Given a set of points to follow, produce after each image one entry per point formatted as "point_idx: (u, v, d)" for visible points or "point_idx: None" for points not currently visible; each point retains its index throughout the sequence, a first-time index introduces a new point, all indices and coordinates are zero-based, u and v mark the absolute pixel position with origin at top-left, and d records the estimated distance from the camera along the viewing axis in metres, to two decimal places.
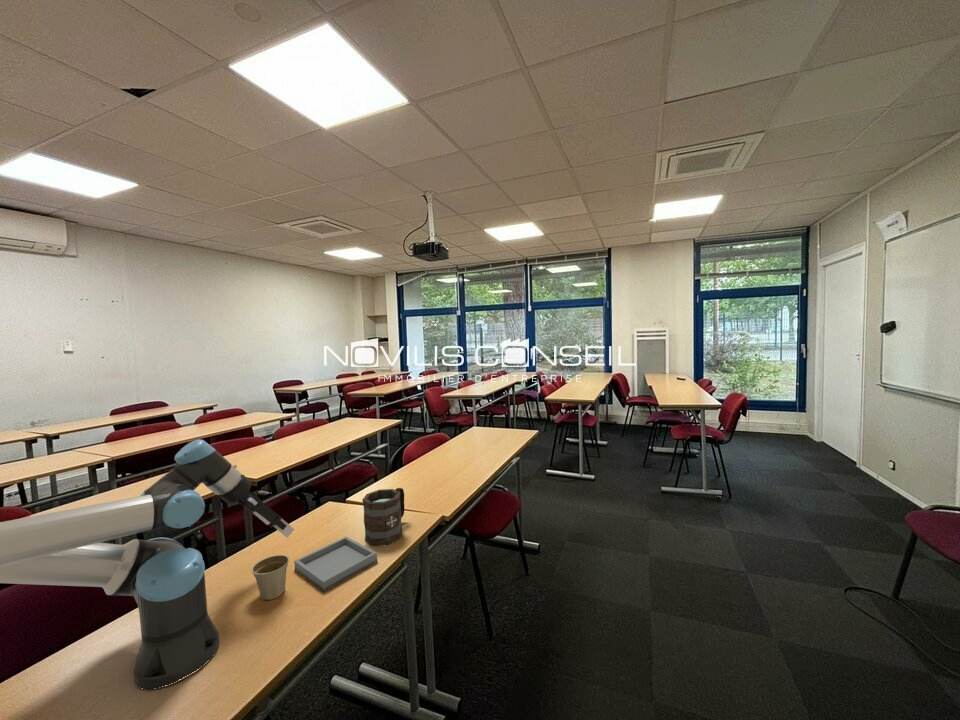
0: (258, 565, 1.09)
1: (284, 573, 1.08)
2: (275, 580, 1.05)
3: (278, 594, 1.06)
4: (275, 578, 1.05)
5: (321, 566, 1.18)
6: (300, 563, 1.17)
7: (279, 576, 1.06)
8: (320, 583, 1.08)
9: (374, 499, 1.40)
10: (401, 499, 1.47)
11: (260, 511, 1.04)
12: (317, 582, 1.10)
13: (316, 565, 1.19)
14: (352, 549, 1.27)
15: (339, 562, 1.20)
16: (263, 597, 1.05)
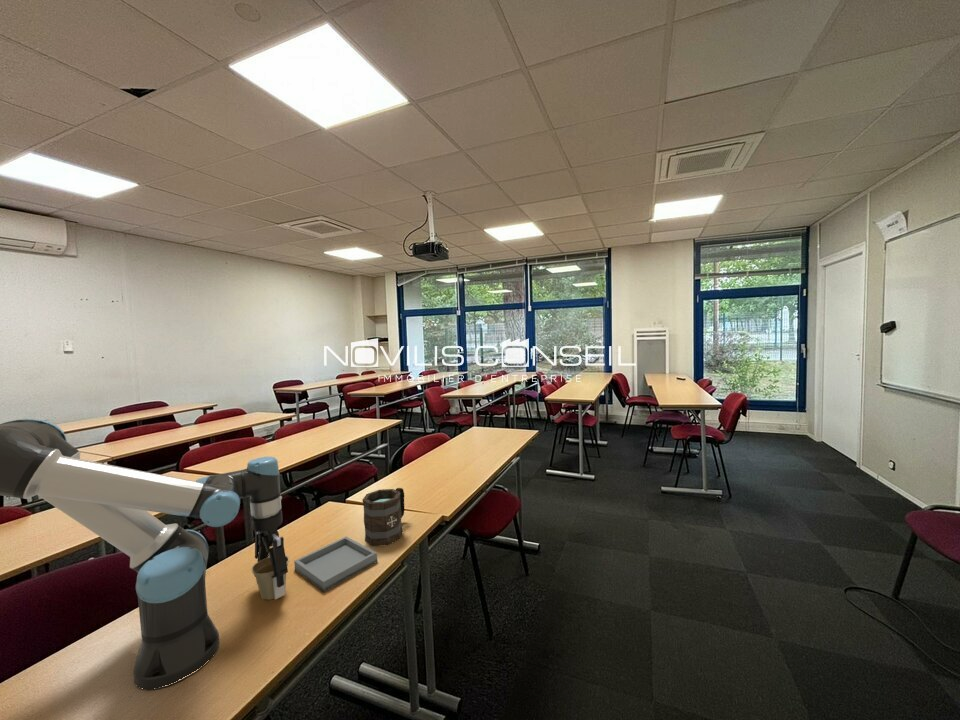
0: (258, 565, 1.09)
1: None
2: None
3: None
4: None
5: (321, 566, 1.18)
6: (300, 563, 1.17)
7: None
8: (320, 583, 1.08)
9: (374, 499, 1.40)
10: (401, 499, 1.47)
11: (277, 555, 1.02)
12: (317, 582, 1.10)
13: (316, 565, 1.19)
14: (352, 549, 1.27)
15: (339, 562, 1.20)
16: (263, 597, 1.05)
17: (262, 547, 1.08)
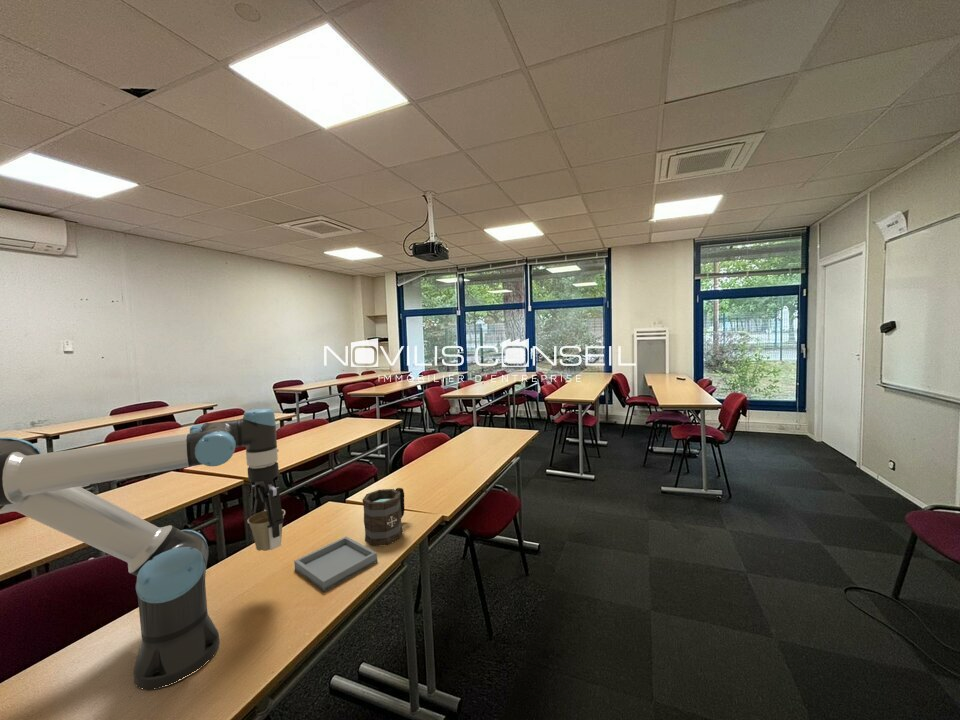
0: (254, 517, 1.08)
1: (280, 525, 1.07)
2: None
3: None
4: None
5: (321, 566, 1.18)
6: (300, 563, 1.17)
7: None
8: (320, 583, 1.08)
9: (374, 499, 1.40)
10: (401, 499, 1.47)
11: (273, 504, 1.02)
12: (317, 582, 1.10)
13: (316, 565, 1.19)
14: (352, 549, 1.27)
15: (339, 562, 1.20)
16: (259, 548, 1.04)
17: (257, 500, 1.08)
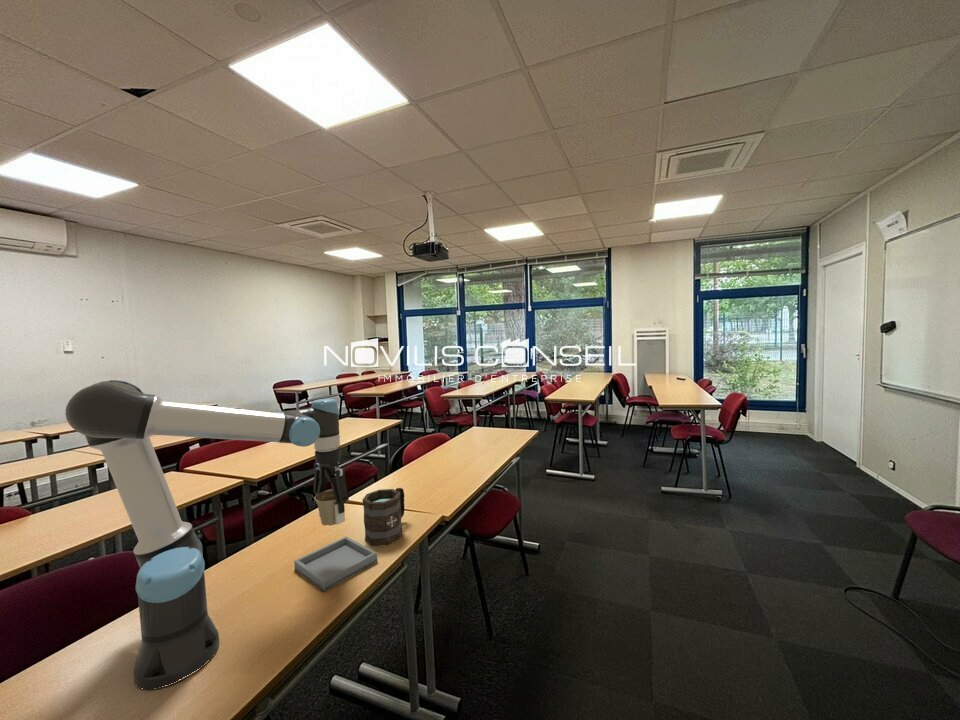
0: (318, 496, 1.20)
1: None
2: None
3: None
4: None
5: (321, 566, 1.18)
6: (300, 563, 1.17)
7: None
8: (320, 583, 1.08)
9: (374, 499, 1.40)
10: (401, 499, 1.47)
11: (340, 483, 1.14)
12: (317, 582, 1.10)
13: (316, 565, 1.19)
14: (352, 549, 1.27)
15: (339, 562, 1.20)
16: (325, 523, 1.17)
17: (322, 481, 1.20)
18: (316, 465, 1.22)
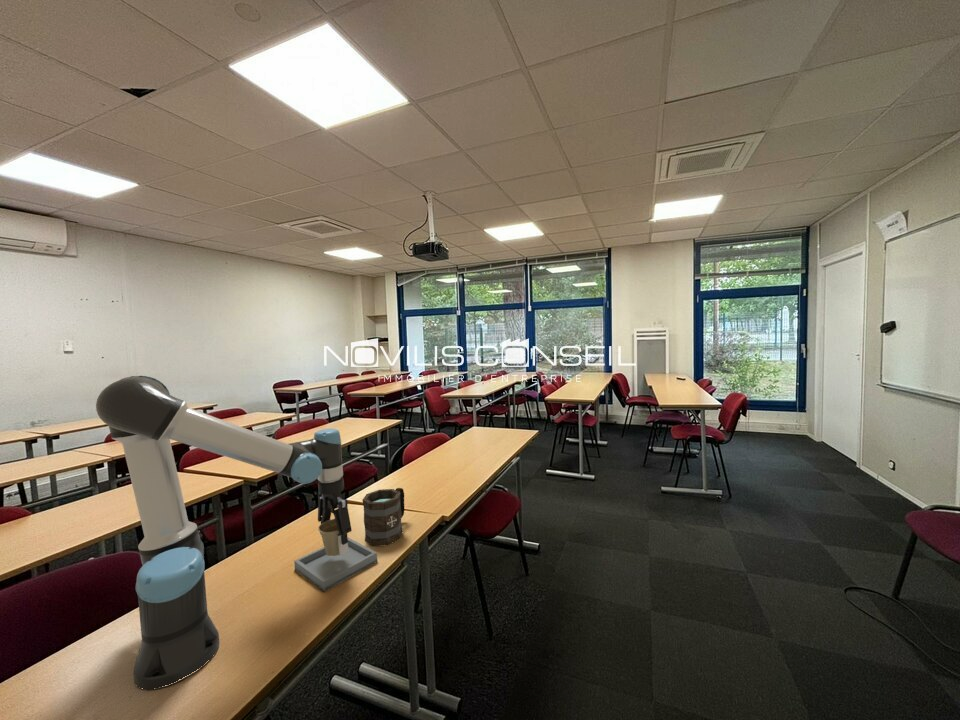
0: (322, 526, 1.21)
1: None
2: None
3: None
4: None
5: (321, 566, 1.18)
6: (300, 563, 1.17)
7: None
8: (320, 583, 1.08)
9: (374, 499, 1.40)
10: (401, 499, 1.47)
11: (342, 515, 1.14)
12: (317, 582, 1.10)
13: (316, 565, 1.19)
14: (352, 549, 1.27)
15: (339, 562, 1.20)
16: (329, 553, 1.17)
17: (325, 510, 1.20)
18: (320, 494, 1.22)
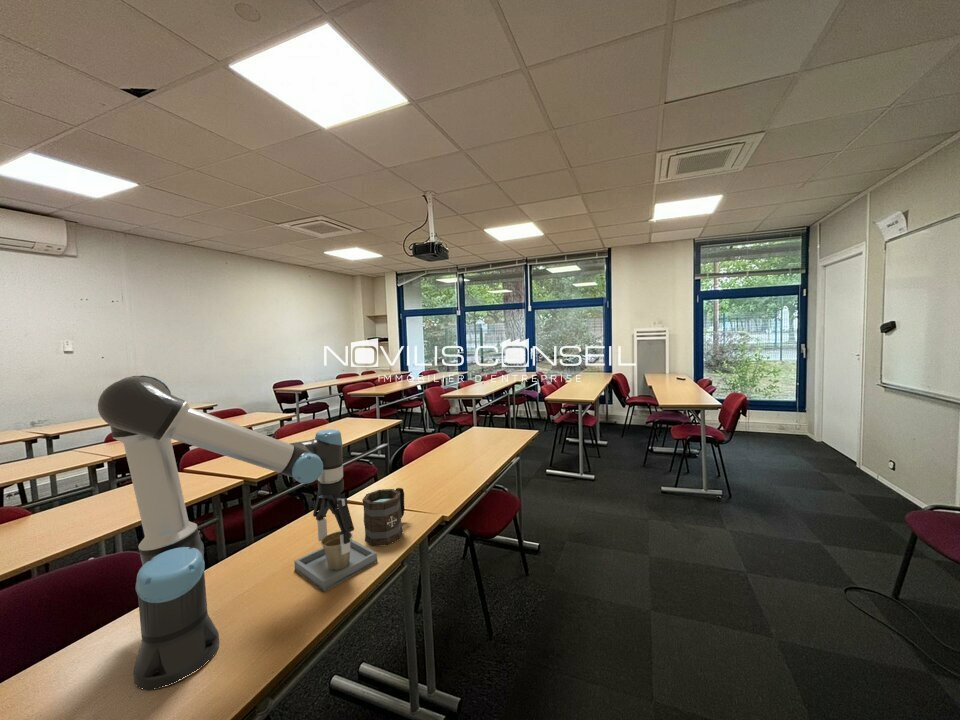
0: (325, 539, 1.19)
1: None
2: None
3: (344, 565, 1.17)
4: None
5: (321, 566, 1.18)
6: (300, 563, 1.17)
7: None
8: (320, 583, 1.08)
9: (374, 499, 1.40)
10: (401, 499, 1.47)
11: (343, 513, 1.13)
12: (317, 582, 1.10)
13: (316, 565, 1.19)
14: (352, 549, 1.27)
15: None
16: (332, 568, 1.16)
17: (323, 509, 1.21)
18: None
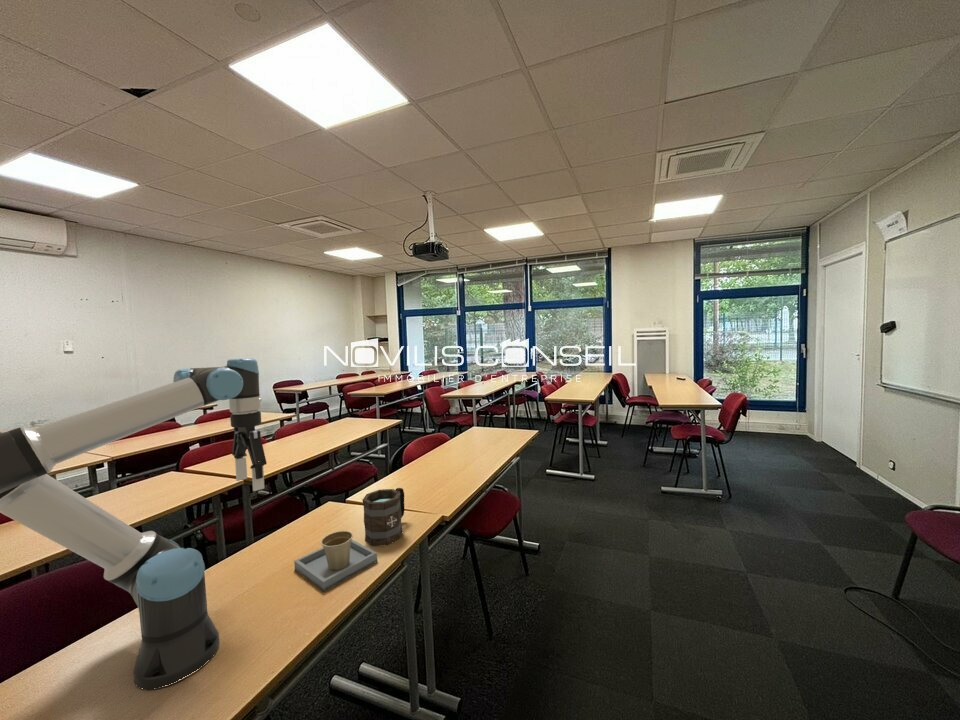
0: (325, 539, 1.19)
1: (349, 546, 1.18)
2: (343, 552, 1.16)
3: (344, 565, 1.17)
4: (342, 550, 1.16)
5: (321, 566, 1.18)
6: (300, 563, 1.17)
7: (345, 549, 1.17)
8: (320, 583, 1.08)
9: (374, 499, 1.40)
10: (401, 499, 1.47)
11: (254, 446, 1.04)
12: (317, 582, 1.10)
13: (316, 565, 1.19)
14: (352, 549, 1.27)
15: None
16: (332, 568, 1.16)
17: (239, 445, 1.11)
18: (236, 428, 1.12)
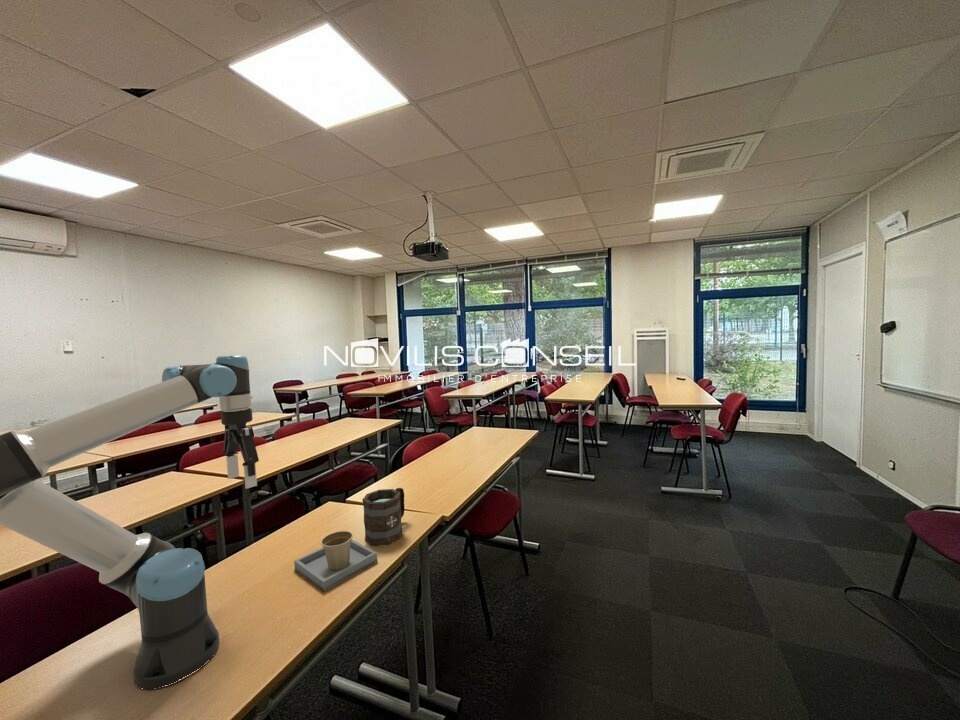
0: (325, 539, 1.19)
1: (349, 546, 1.18)
2: (343, 552, 1.16)
3: (344, 565, 1.17)
4: (342, 550, 1.16)
5: (321, 566, 1.18)
6: (300, 563, 1.17)
7: (345, 549, 1.17)
8: (320, 583, 1.08)
9: (374, 499, 1.40)
10: (401, 499, 1.47)
11: (246, 443, 1.03)
12: (317, 582, 1.10)
13: (316, 565, 1.19)
14: (352, 549, 1.27)
15: None
16: (332, 568, 1.16)
17: (230, 443, 1.10)
18: (227, 426, 1.11)
